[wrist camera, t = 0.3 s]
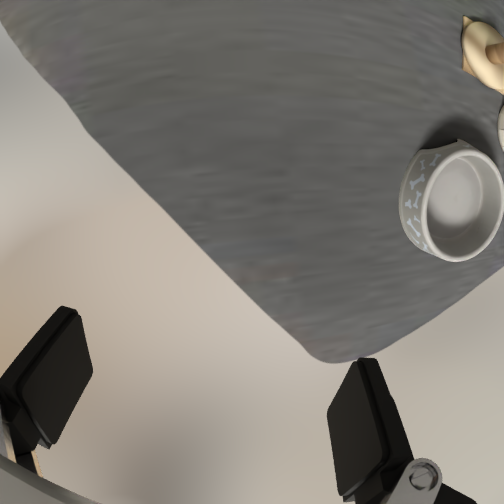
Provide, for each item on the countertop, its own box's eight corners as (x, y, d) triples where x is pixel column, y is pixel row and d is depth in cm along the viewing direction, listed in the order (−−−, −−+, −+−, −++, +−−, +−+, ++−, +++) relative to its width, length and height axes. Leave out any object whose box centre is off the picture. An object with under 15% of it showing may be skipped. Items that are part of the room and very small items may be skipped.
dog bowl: (493, 229, 38) (512, 241, 33) (409, 268, 42) (423, 285, 37) (480, 129, 32) (502, 132, 27) (384, 160, 36) (401, 166, 31)
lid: (461, 11, 24) (483, 2, 18) (509, 43, 24) (532, 40, 19) (460, 70, 28) (485, 67, 23) (508, 100, 29) (533, 102, 23)
